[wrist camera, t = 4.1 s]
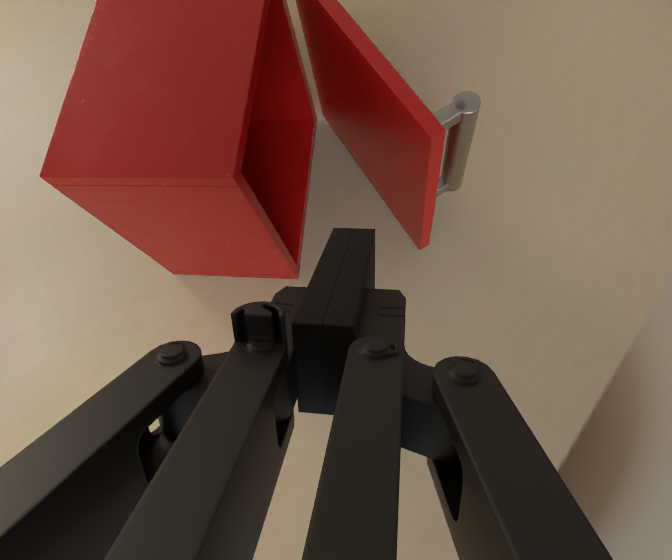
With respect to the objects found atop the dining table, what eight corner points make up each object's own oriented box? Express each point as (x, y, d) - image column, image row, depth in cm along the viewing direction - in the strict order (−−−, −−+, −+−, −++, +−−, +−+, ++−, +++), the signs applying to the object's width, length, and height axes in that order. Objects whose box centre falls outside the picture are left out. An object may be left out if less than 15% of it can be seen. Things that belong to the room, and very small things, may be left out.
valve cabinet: (317, 117, 38) (273, -51, 25) (298, 279, 34) (233, 177, 21) (205, 119, 40) (108, -40, 26) (173, 274, 35) (38, 176, 22)
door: (370, 88, 38) (356, -79, 26) (473, 218, 33) (516, 88, 21) (322, 115, 38) (285, -40, 25) (419, 250, 33) (431, 138, 21)
